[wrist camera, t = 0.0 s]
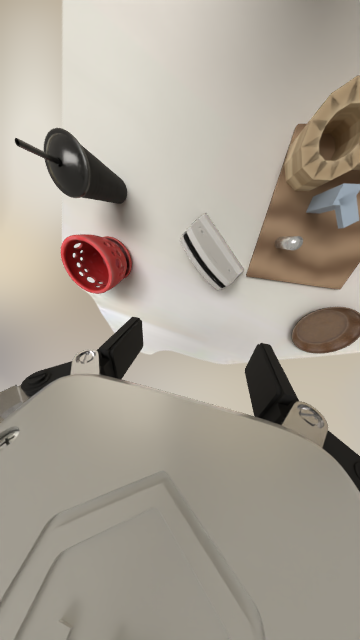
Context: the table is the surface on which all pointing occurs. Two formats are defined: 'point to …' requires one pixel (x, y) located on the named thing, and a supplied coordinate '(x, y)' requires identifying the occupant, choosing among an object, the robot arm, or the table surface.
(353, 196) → the bracket
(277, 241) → the peg
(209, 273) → the white rounded block
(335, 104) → the link
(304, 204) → the board
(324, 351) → the saucer
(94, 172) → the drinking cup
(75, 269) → the plant pot
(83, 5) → the table surface
